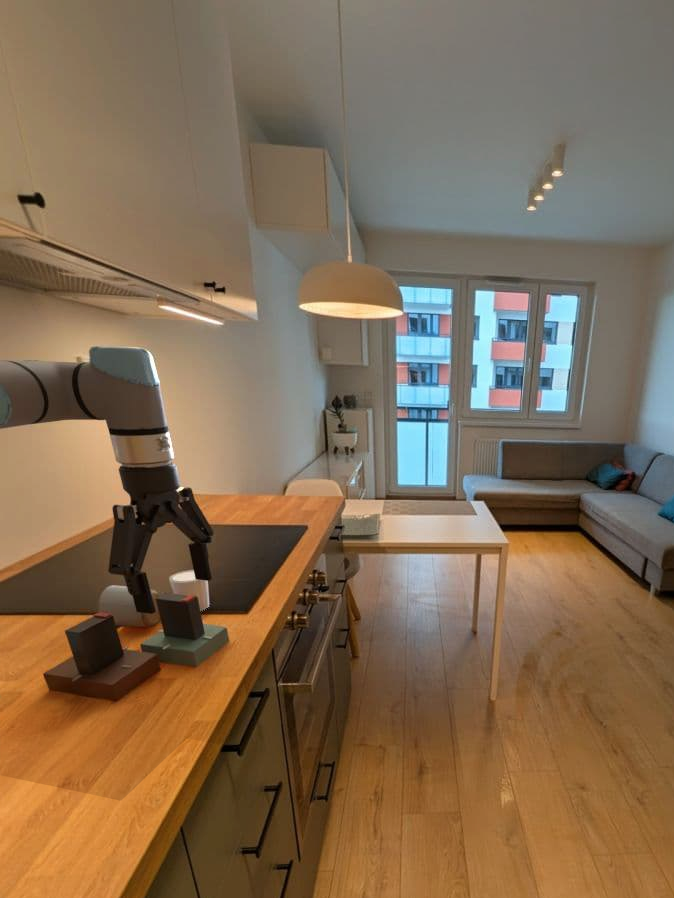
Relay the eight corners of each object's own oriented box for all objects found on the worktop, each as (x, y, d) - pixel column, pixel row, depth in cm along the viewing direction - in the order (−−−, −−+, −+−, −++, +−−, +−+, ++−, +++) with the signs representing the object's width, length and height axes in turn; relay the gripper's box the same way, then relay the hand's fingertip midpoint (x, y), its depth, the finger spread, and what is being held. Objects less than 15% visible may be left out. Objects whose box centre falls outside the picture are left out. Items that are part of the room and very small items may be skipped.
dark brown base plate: (45, 692, 76) (38, 674, 75) (101, 658, 85) (96, 641, 84) (113, 704, 74) (108, 686, 72) (163, 667, 83) (159, 651, 81)
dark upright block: (164, 635, 86) (155, 597, 83) (174, 629, 88) (165, 591, 85) (195, 640, 85) (187, 601, 82) (205, 633, 87) (197, 595, 84)
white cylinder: (171, 606, 103) (164, 574, 100) (206, 597, 108) (200, 567, 105) (181, 618, 99) (174, 585, 96) (217, 608, 103) (211, 576, 100)
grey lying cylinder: (149, 634, 93) (140, 595, 90) (103, 633, 92) (92, 594, 89) (175, 609, 102) (168, 574, 99) (134, 609, 102) (125, 573, 99)
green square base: (140, 661, 84) (136, 644, 83) (182, 633, 93) (179, 617, 92) (194, 669, 83) (191, 652, 81) (232, 639, 92) (229, 624, 90)
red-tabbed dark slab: (92, 674, 75) (78, 631, 72) (78, 672, 76) (63, 629, 73) (124, 654, 80) (112, 613, 77) (111, 652, 81) (99, 611, 78)
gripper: (98, 481, 63) (139, 631, 72) (221, 452, 85) (241, 570, 94) (48, 477, 64) (94, 625, 73) (182, 450, 87) (205, 566, 95)
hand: (177, 594), depth 84 cm, fingers open, 13 cm apart
